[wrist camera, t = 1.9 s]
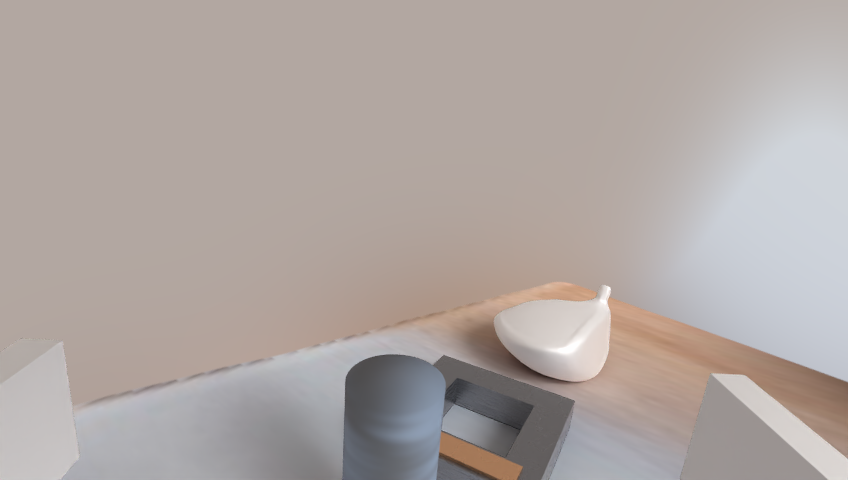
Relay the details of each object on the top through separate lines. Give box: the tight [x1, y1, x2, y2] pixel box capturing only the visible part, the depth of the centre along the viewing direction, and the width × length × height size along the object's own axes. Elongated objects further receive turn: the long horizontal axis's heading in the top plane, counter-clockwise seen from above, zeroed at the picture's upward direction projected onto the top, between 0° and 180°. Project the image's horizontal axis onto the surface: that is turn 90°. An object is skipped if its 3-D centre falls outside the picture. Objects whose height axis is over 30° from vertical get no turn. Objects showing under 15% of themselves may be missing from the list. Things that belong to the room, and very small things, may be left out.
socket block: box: [433, 355, 575, 480], centre depth 35 cm, size 12×12×3 cm
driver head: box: [494, 285, 611, 382], centre depth 47 cm, size 10×11×12 cm
